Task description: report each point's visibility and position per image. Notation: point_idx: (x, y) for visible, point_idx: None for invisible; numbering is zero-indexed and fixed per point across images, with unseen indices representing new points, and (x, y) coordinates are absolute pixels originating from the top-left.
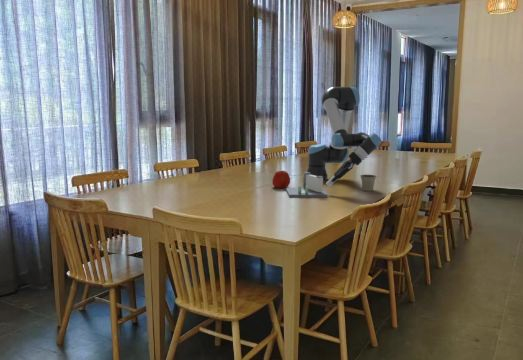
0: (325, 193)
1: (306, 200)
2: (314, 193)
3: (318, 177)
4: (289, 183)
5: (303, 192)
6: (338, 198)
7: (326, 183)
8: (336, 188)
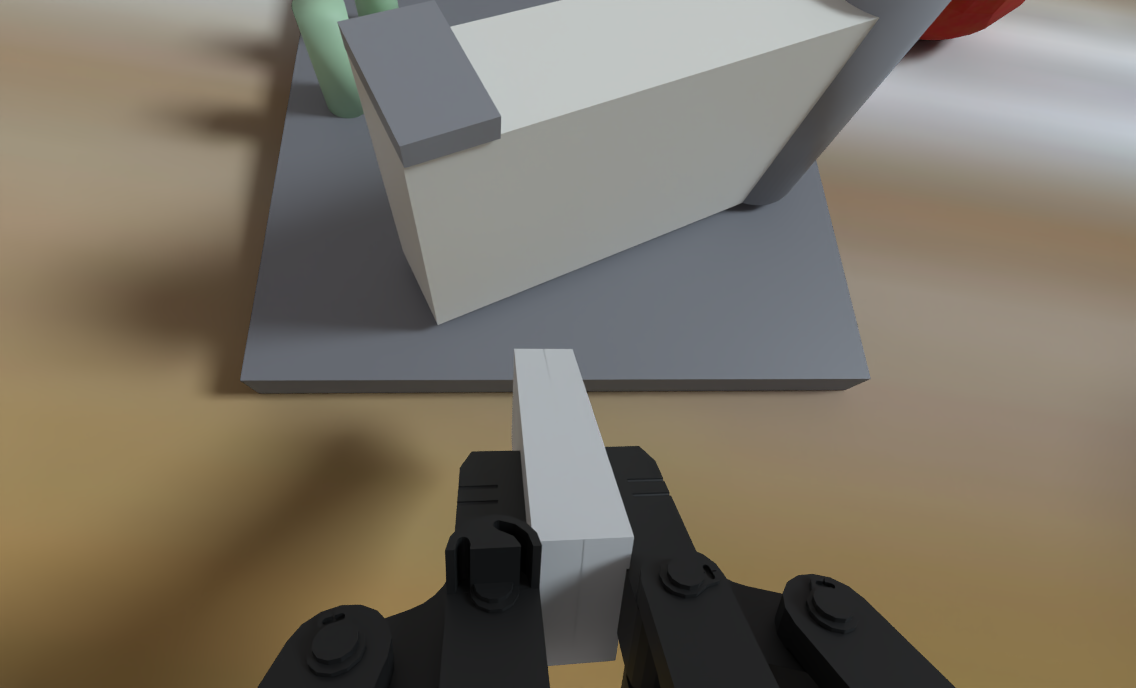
0: (345, 361)
1: (90, 84)
2: (366, 201)
3: (342, 39)
4: (945, 19)
5: None
6: (118, 573)
7: (519, 354)
8: (1045, 683)
